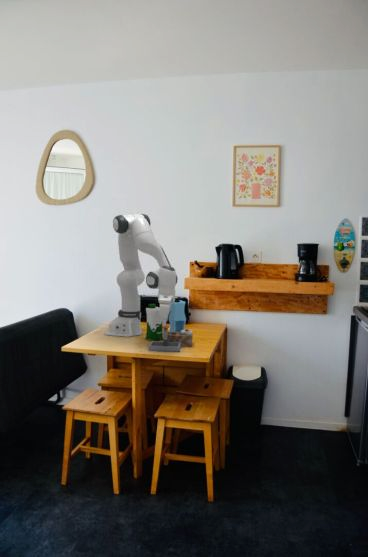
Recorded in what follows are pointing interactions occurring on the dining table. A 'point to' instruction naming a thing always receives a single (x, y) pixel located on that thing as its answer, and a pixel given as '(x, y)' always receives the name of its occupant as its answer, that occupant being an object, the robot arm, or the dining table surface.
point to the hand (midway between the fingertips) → (165, 323)
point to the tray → (170, 348)
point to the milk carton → (154, 323)
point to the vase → (177, 317)
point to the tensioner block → (181, 337)
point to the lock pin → (165, 335)
